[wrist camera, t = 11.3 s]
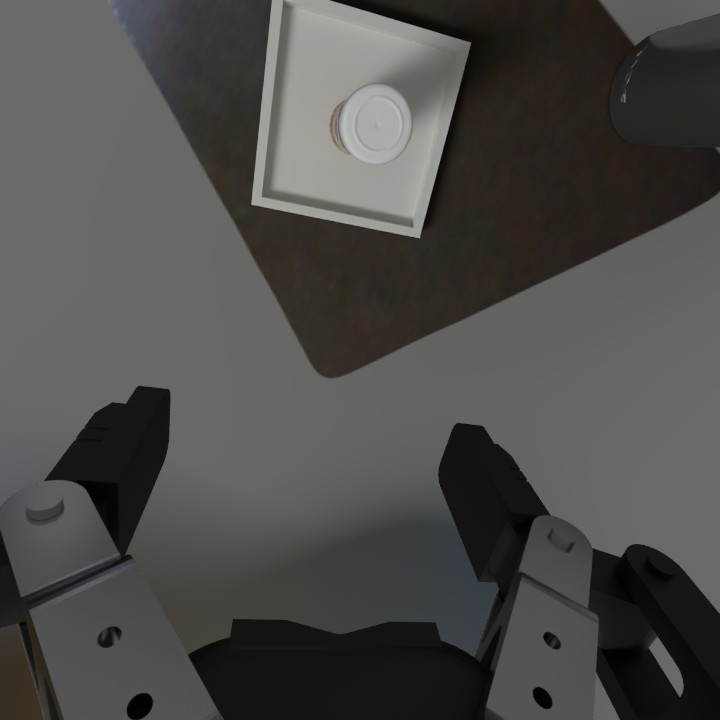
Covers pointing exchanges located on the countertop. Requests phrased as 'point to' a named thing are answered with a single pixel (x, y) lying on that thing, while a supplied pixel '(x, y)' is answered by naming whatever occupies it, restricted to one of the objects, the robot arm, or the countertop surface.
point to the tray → (332, 86)
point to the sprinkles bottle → (372, 124)
